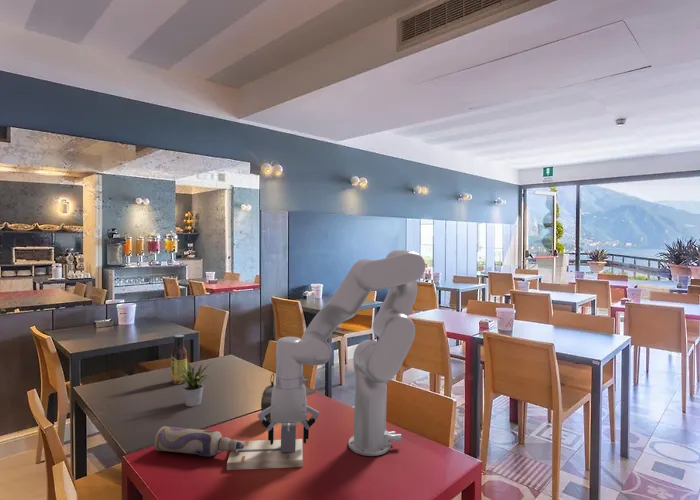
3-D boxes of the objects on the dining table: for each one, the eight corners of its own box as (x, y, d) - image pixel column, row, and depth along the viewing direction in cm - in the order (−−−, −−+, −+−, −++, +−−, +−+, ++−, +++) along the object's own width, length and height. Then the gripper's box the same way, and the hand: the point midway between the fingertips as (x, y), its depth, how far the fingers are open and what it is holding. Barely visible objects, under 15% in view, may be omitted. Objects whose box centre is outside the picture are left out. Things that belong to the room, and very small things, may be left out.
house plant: (160, 408, 155) (160, 363, 154) (183, 395, 168) (183, 353, 168) (195, 413, 152) (195, 367, 151) (216, 399, 165) (217, 356, 164)
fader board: (302, 445, 130) (302, 438, 130) (302, 466, 118) (302, 459, 118) (233, 448, 128) (233, 441, 128) (226, 470, 116) (226, 462, 116)
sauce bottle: (171, 380, 185) (171, 333, 184) (187, 379, 187) (187, 333, 186) (170, 385, 179) (170, 337, 178) (186, 384, 180) (186, 336, 180)
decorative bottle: (151, 456, 122) (151, 432, 122) (168, 443, 130) (167, 421, 129) (237, 464, 117) (237, 440, 117) (249, 450, 125) (248, 427, 124)
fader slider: (295, 443, 126) (295, 422, 126) (295, 451, 121) (295, 430, 121) (281, 443, 126) (281, 423, 125) (280, 452, 121) (281, 430, 121)
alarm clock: (273, 428, 141) (274, 379, 140) (257, 427, 142) (258, 377, 141) (285, 415, 151) (285, 369, 151) (270, 413, 153) (271, 367, 152)
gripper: (319, 376, 128) (318, 434, 128) (259, 377, 126) (258, 436, 126) (320, 385, 120) (319, 447, 121) (256, 386, 118) (255, 449, 119)
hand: (288, 441), depth 123 cm, fingers open, 8 cm apart
